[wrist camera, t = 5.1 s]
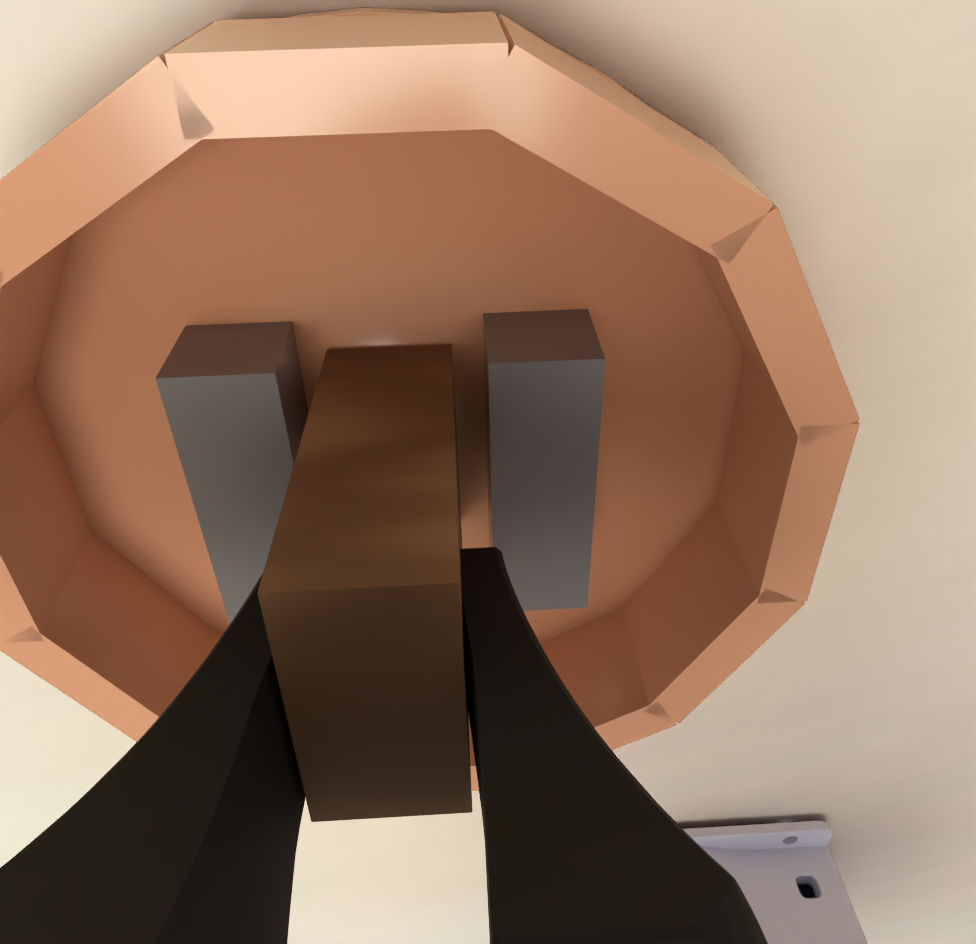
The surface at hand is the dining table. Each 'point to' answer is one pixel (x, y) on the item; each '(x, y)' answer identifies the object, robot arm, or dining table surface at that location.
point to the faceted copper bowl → (405, 322)
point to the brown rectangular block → (374, 590)
